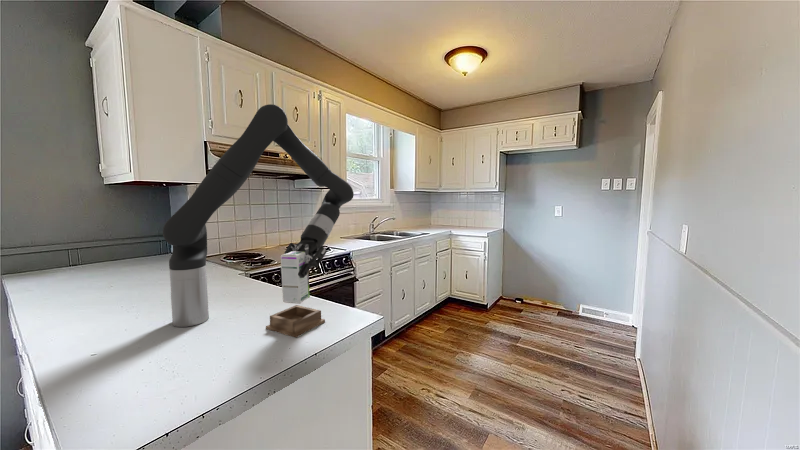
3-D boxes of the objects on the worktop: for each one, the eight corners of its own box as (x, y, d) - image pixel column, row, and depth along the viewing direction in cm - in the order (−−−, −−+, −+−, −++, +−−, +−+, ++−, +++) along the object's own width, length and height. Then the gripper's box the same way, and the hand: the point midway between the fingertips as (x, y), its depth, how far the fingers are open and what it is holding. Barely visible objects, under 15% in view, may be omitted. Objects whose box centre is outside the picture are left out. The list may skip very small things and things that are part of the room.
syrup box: (300, 304, 88) (298, 255, 87) (282, 302, 89) (280, 254, 88) (309, 297, 94) (308, 251, 92) (292, 296, 95) (291, 250, 93)
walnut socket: (265, 328, 89) (265, 316, 89) (296, 314, 100) (296, 303, 100) (295, 337, 84) (295, 324, 84) (325, 321, 95) (324, 310, 94)
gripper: (295, 222, 99) (266, 265, 90) (329, 224, 93) (302, 271, 83) (307, 236, 104) (281, 278, 95) (340, 239, 98) (316, 284, 89)
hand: (291, 274), depth 89 cm, fingers closed on syrup box, 6 cm apart
